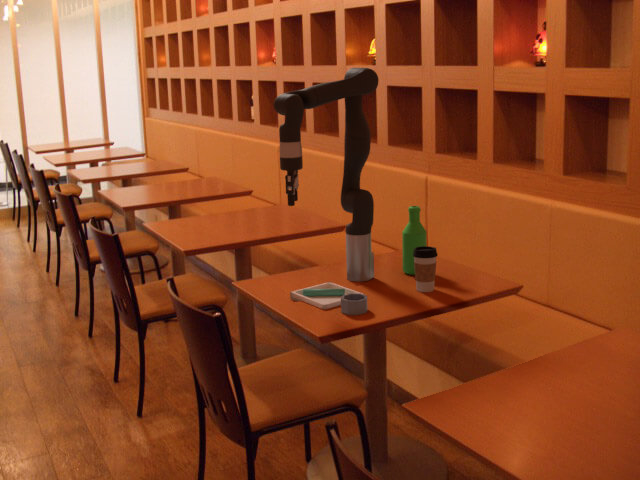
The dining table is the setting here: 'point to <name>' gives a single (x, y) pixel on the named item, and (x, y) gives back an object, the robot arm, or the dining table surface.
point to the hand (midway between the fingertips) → (292, 203)
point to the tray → (321, 301)
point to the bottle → (412, 239)
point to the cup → (354, 304)
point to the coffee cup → (425, 267)
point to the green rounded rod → (323, 292)
